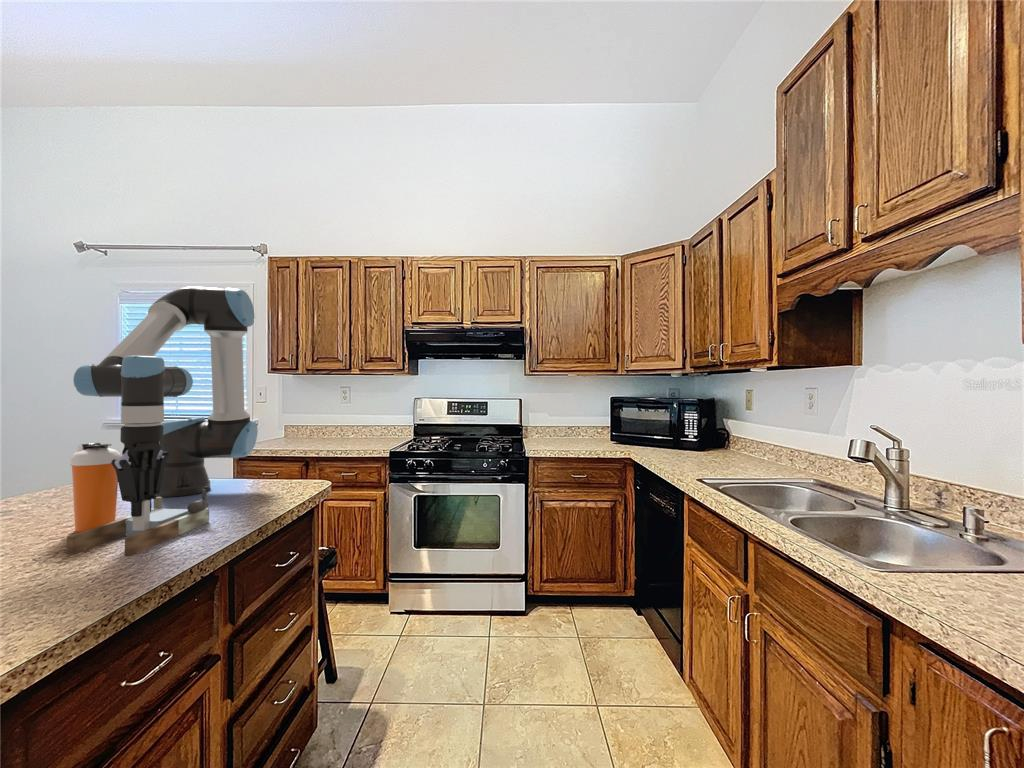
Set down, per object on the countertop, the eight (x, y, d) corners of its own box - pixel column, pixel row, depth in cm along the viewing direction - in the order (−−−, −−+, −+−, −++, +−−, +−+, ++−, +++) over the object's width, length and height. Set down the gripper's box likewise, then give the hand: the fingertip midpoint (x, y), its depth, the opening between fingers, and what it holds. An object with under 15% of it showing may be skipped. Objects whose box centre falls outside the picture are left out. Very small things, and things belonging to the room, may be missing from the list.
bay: (159, 519, 116) (159, 484, 116) (213, 521, 116) (213, 485, 116) (66, 553, 93) (67, 509, 93) (133, 555, 92) (134, 511, 92)
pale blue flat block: (161, 524, 114) (161, 508, 114) (193, 525, 114) (193, 508, 114) (125, 538, 104) (125, 520, 104) (160, 539, 103) (160, 521, 103)
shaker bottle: (89, 535, 104) (90, 447, 104) (59, 532, 106) (60, 445, 106) (129, 523, 113) (130, 442, 113) (100, 520, 115) (101, 441, 115)
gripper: (150, 421, 110) (149, 520, 110) (99, 427, 97) (97, 538, 96) (180, 422, 109) (179, 521, 109) (133, 427, 96) (131, 539, 96)
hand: (141, 529), depth 103 cm, fingers closed
